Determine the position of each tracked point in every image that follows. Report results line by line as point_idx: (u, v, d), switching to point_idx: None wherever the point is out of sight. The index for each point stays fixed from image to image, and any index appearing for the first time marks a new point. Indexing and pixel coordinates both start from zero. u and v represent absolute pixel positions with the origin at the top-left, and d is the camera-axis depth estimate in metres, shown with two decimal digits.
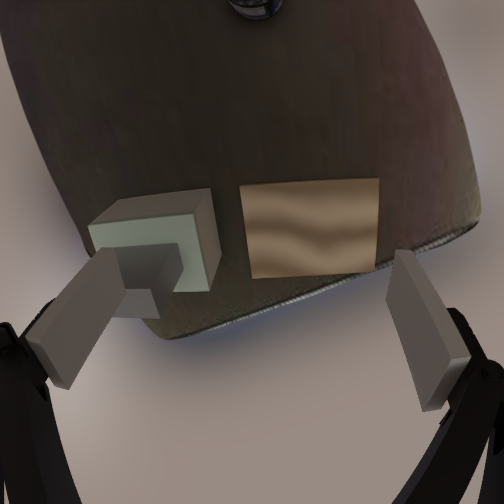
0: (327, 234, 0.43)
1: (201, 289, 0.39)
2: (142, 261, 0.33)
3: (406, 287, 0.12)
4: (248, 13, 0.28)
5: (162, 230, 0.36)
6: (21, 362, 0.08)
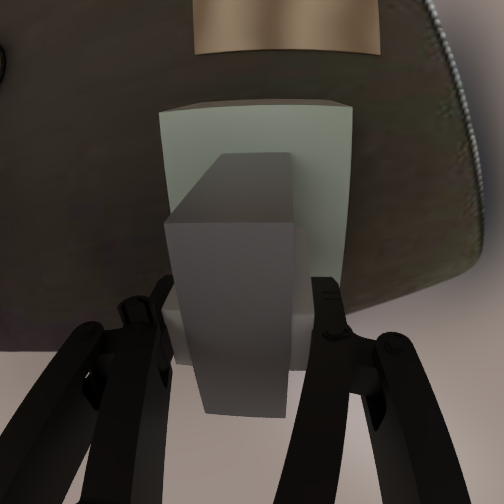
0: None
1: (347, 124, 0.15)
2: None
3: None
4: None
5: (193, 180, 0.17)
6: (152, 345, 0.09)
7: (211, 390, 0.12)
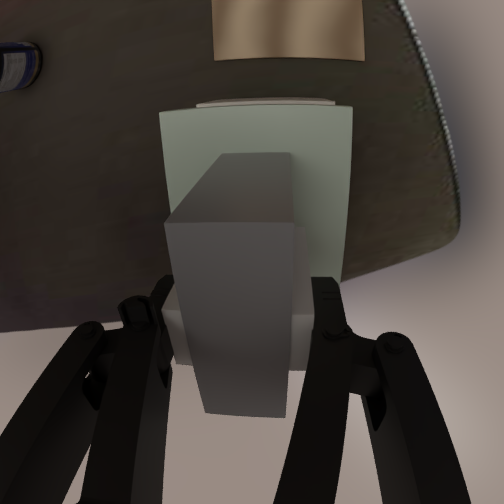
0: None
1: (347, 124, 0.15)
2: None
3: None
4: (20, 67, 0.24)
5: (194, 180, 0.17)
6: (152, 345, 0.09)
7: (211, 390, 0.12)
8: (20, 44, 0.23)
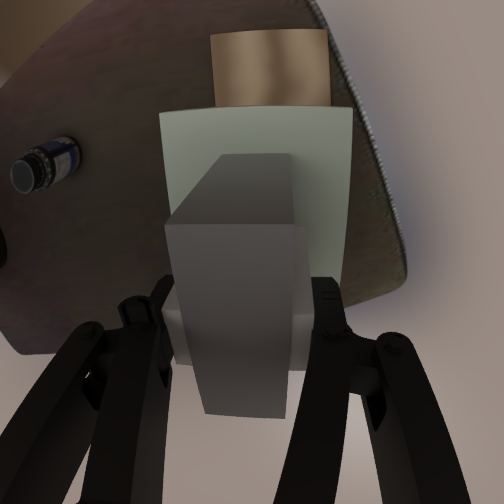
0: (276, 83, 0.35)
1: (347, 125, 0.15)
2: None
3: None
4: (67, 165, 0.39)
5: (194, 181, 0.17)
6: (152, 345, 0.09)
7: (211, 391, 0.12)
8: (63, 143, 0.38)
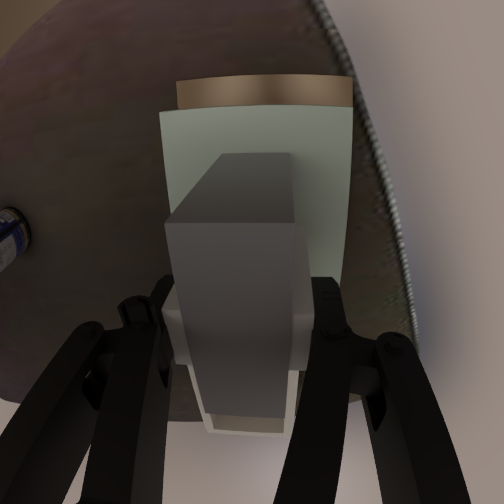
0: None
1: (347, 125, 0.15)
2: None
3: None
4: (11, 251, 0.29)
5: (194, 180, 0.17)
6: (152, 345, 0.09)
7: (210, 390, 0.12)
8: (4, 223, 0.28)
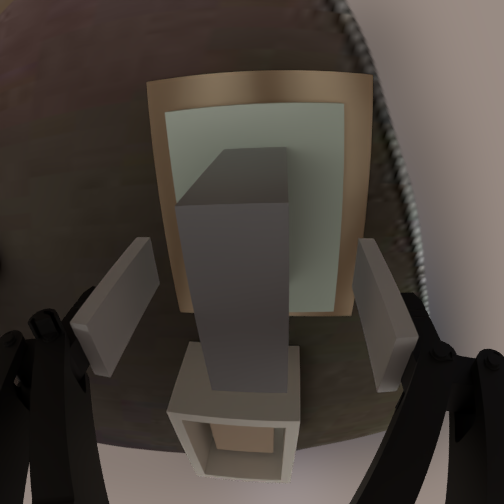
0: None
1: (339, 120, 0.16)
2: None
3: (365, 273, 0.13)
4: None
5: (198, 175, 0.19)
6: (63, 352, 0.09)
7: (217, 366, 0.13)
8: None
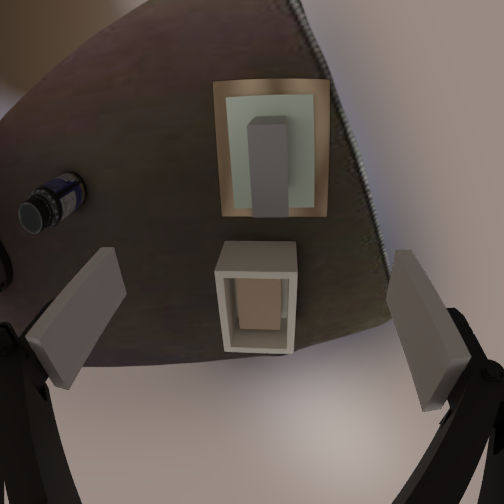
0: None
1: (311, 102, 0.34)
2: None
3: (406, 287, 0.12)
4: (73, 203, 0.41)
5: (241, 129, 0.36)
6: (21, 362, 0.08)
7: (256, 199, 0.31)
8: (68, 181, 0.40)
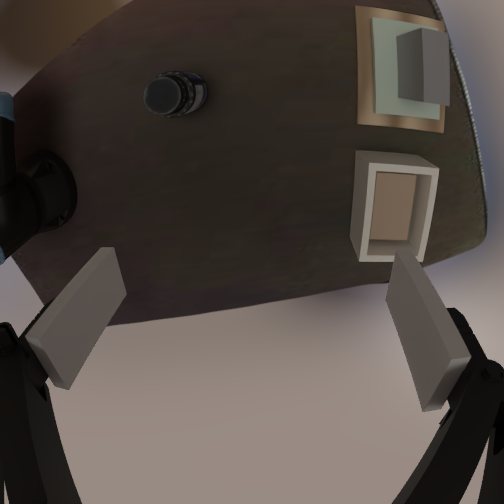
0: None
1: None
2: (407, 53, 0.31)
3: (406, 287, 0.12)
4: (200, 98, 0.39)
5: (385, 44, 0.34)
6: (21, 362, 0.08)
7: (427, 87, 0.28)
8: (195, 76, 0.38)
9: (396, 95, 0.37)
